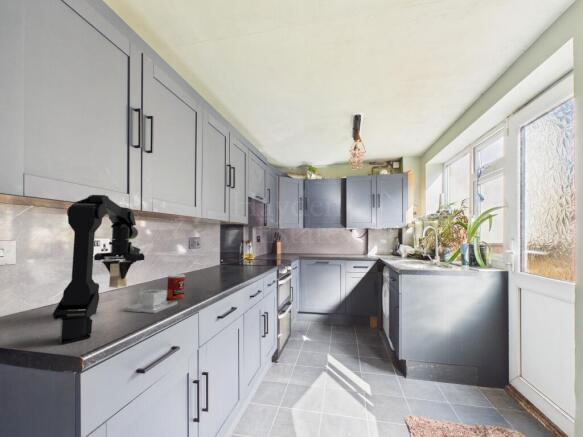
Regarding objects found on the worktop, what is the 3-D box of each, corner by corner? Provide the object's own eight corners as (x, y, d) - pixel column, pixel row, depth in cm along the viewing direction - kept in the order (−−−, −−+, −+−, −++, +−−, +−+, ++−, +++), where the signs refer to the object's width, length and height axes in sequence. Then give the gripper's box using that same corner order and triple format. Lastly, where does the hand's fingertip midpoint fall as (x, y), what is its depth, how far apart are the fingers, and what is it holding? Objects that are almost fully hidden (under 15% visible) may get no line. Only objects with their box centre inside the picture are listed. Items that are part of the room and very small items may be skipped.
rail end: (117, 287, 100) (118, 264, 101) (109, 287, 101) (110, 264, 101) (126, 285, 104) (127, 263, 104) (118, 285, 105) (119, 263, 105)
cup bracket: (154, 313, 100) (155, 296, 101) (124, 310, 103) (124, 294, 104) (177, 303, 114) (177, 289, 114) (150, 302, 117) (150, 287, 117)
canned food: (173, 300, 120) (174, 276, 120) (163, 298, 124) (164, 275, 125) (187, 297, 126) (188, 274, 127) (177, 295, 130) (178, 273, 131)
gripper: (155, 239, 110) (153, 276, 109) (118, 239, 113) (116, 275, 112) (134, 239, 99) (132, 280, 98) (94, 239, 103) (91, 279, 101)
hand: (118, 278), depth 103 cm, fingers closed on rail end, 4 cm apart
